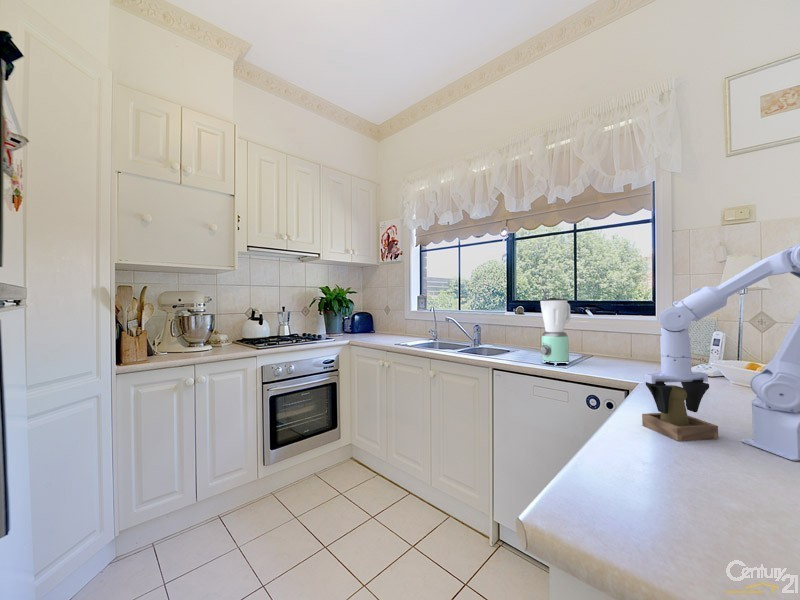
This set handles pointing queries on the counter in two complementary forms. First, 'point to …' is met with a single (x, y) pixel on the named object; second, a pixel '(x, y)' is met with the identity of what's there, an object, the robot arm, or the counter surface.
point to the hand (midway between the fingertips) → (677, 411)
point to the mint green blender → (555, 330)
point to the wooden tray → (681, 428)
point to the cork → (676, 407)
